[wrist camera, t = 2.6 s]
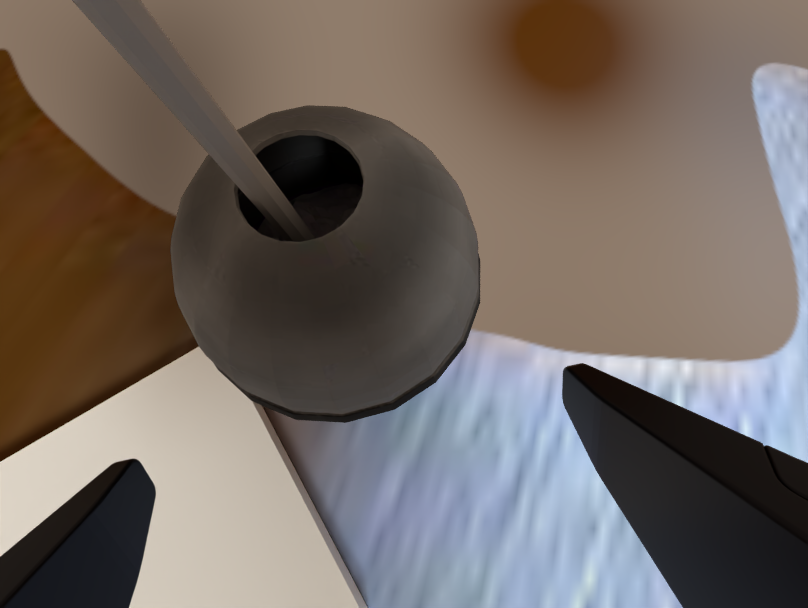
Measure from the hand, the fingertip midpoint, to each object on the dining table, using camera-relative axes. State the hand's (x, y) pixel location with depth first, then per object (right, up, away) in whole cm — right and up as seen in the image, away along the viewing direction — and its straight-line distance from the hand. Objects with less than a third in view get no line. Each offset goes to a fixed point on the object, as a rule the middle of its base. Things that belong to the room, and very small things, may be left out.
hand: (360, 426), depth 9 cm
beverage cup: (-1, 0, +13) cm, 13 cm away
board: (-10, -9, +10) cm, 17 cm away
